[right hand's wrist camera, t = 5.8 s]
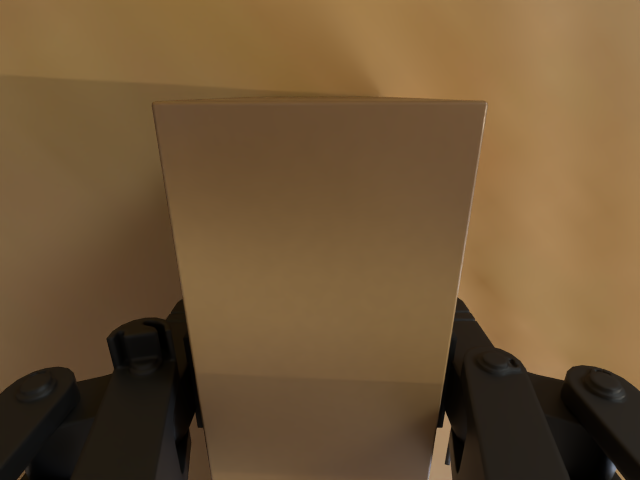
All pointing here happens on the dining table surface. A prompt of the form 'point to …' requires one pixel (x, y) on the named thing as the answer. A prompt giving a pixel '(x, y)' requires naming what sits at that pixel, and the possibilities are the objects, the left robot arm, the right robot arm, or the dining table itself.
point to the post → (319, 275)
